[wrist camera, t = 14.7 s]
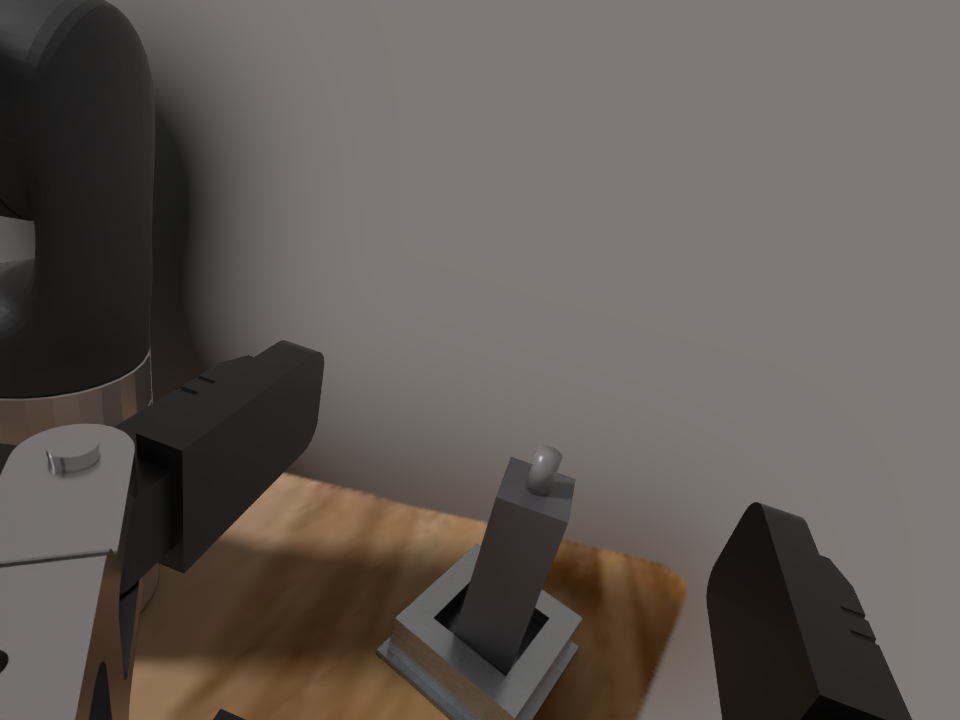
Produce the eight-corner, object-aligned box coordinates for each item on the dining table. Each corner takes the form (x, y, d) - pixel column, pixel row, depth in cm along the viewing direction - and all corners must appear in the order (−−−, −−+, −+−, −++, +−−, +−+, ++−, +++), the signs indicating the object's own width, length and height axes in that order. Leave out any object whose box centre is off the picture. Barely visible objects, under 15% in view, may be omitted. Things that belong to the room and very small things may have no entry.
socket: (375, 653, 37) (383, 617, 35) (465, 568, 44) (475, 536, 43) (502, 766, 32) (517, 731, 31) (577, 650, 40) (592, 617, 39)
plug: (444, 662, 37) (507, 461, 29) (462, 614, 40) (521, 424, 33) (503, 686, 36) (581, 487, 29) (515, 635, 40) (588, 446, 32)
